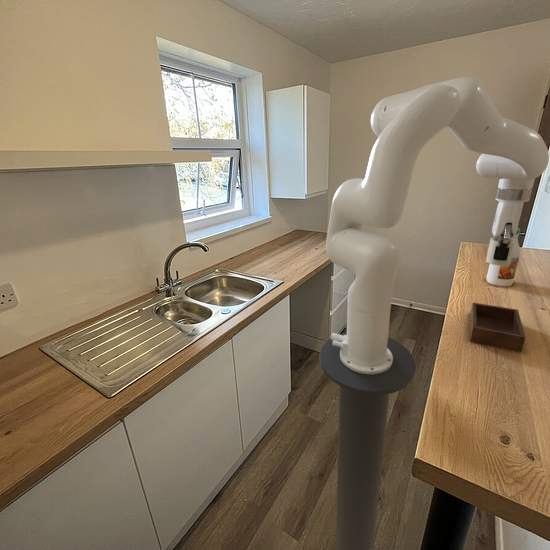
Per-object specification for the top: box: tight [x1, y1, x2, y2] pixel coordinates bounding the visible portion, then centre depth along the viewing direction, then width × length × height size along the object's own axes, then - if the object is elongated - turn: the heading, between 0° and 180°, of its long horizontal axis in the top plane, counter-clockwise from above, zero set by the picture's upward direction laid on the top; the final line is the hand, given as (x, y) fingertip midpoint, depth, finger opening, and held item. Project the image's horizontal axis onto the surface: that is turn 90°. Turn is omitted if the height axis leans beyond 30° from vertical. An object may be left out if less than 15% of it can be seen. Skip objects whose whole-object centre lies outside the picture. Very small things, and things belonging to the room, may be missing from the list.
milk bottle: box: [486, 227, 521, 287], centre depth 104 cm, size 8×8×20 cm
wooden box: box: [469, 302, 526, 353], centre depth 81 cm, size 11×15×4 cm
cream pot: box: [485, 236, 516, 266], centre depth 89 cm, size 6×6×7 cm
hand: (498, 255), depth 90 cm, fingers closed on cream pot, 6 cm apart
